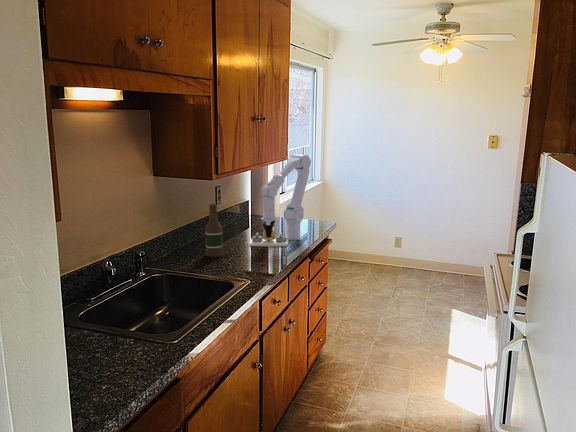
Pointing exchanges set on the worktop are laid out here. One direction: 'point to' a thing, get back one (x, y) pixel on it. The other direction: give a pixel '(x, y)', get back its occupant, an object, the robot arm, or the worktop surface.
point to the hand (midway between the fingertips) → (269, 235)
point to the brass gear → (269, 238)
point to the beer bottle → (214, 234)
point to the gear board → (269, 241)
